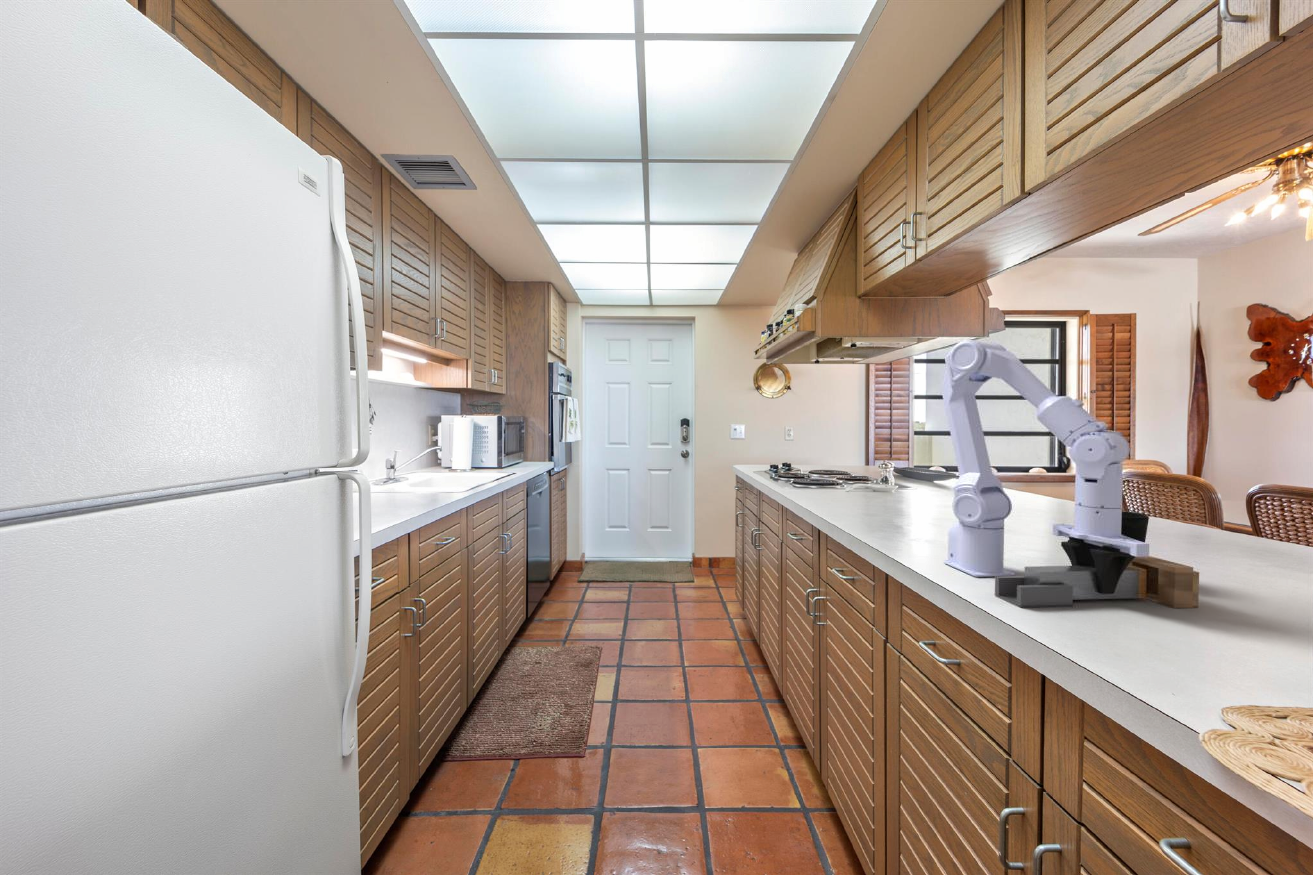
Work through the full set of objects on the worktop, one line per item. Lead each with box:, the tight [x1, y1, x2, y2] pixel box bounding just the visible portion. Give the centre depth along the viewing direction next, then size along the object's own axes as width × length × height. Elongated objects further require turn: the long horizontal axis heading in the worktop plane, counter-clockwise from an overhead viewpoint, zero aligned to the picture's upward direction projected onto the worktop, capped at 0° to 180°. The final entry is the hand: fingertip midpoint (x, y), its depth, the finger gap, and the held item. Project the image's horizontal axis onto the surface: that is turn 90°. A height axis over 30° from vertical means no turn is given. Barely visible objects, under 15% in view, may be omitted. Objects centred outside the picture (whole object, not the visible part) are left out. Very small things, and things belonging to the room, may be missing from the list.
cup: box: [1101, 510, 1150, 549], centre depth 92 cm, size 8×8×12 cm
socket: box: [1129, 555, 1200, 609], centre depth 82 cm, size 9×4×6 cm, turn 4°
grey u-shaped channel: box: [994, 575, 1073, 609], centre depth 81 cm, size 5×8×3 cm, turn 94°
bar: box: [1023, 565, 1147, 601], centre depth 81 cm, size 3×18×5 cm, turn 94°
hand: (1095, 589), depth 81 cm, fingers closed on bar, 3 cm apart
